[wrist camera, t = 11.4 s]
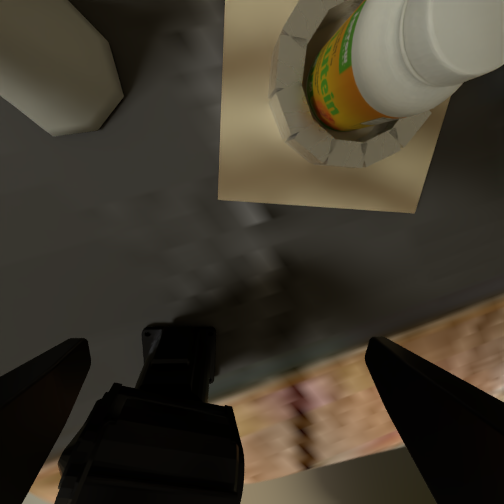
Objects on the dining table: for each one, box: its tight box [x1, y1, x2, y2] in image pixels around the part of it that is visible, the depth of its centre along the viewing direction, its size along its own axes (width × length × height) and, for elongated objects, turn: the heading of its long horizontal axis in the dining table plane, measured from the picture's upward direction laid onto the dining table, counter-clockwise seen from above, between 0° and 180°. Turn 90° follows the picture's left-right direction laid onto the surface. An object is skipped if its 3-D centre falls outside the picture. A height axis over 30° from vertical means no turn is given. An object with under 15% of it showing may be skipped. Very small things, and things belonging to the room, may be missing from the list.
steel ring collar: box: [268, 0, 434, 168], centre depth 15 cm, size 10×10×2 cm
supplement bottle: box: [306, 0, 504, 132], centre depth 12 cm, size 5×5×10 cm
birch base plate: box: [218, 0, 451, 213], centre depth 17 cm, size 16×16×1 cm
